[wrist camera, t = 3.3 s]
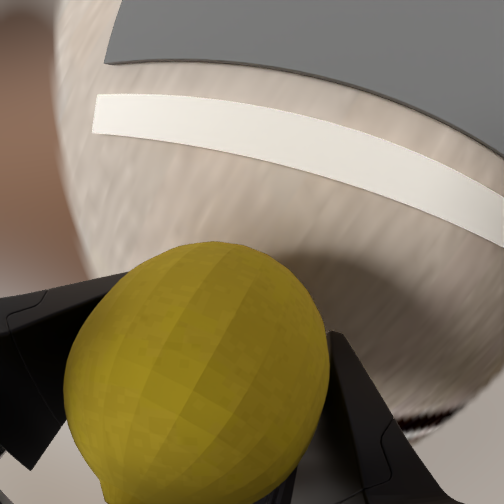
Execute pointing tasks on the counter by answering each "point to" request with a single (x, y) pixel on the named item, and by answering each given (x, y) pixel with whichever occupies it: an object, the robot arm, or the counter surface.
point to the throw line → (308, 152)
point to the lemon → (198, 378)
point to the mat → (341, 48)
